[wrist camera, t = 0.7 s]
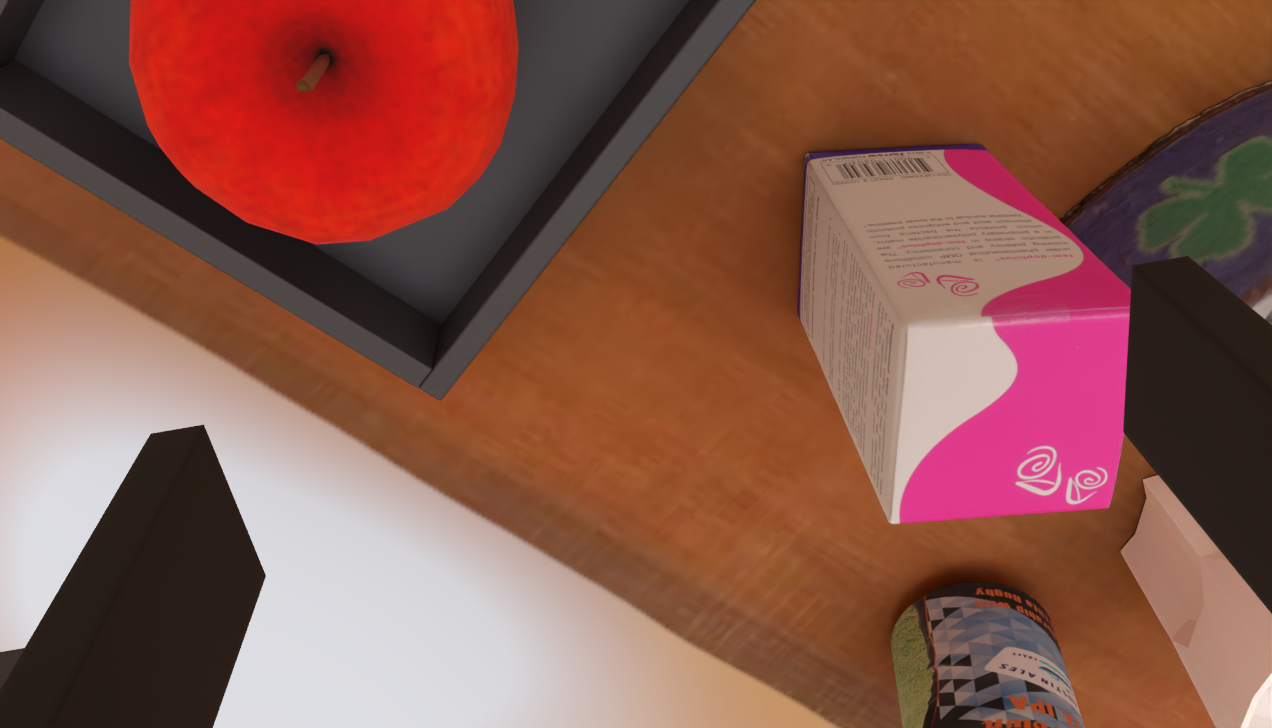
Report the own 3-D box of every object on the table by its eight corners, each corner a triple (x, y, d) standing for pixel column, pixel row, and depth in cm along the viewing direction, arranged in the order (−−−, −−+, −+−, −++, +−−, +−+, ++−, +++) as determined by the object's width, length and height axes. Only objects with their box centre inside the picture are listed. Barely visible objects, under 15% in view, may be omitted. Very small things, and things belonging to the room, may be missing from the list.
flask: (1061, 297, 38) (1229, 476, 28) (1019, 232, 37) (1180, 397, 27) (1322, 126, 36) (1599, 259, 26) (1286, 51, 34) (1563, 162, 25)
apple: (314, -250, 28) (238, -250, 22) (592, -22, 31) (602, 41, 25) (142, 36, 31) (26, 115, 25) (410, 219, 34) (374, 335, 28)
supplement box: (795, 323, 38) (881, 531, 28) (801, 149, 35) (901, 311, 25) (968, 313, 38) (1116, 517, 28) (988, 140, 35) (1162, 296, 25)
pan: (-17, 59, 32) (-80, 92, 29) (259, -476, 27) (219, -507, 24) (450, 347, 37) (440, 402, 34) (759, -53, 32) (781, -32, 29)
